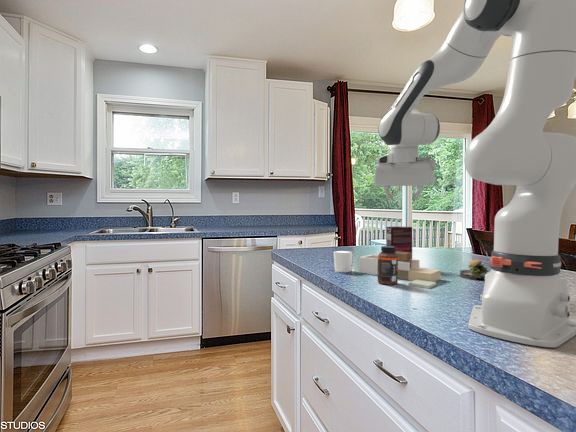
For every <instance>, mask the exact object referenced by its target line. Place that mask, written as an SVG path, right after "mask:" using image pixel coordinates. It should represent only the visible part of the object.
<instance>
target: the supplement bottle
mask: <svg viewBox="0 0 576 432" xmlns="http://www.w3.org/2000/svg"><path fill="white" fill-rule="evenodd" d="M380 251H381V252H379V253H378V254H377V255H378V275H377V283H379V284H380V285H387V286H389V285H390V286H391V285H392V286H394V285H397V284H398V280H399V279H398V255H397V254H396V253H395V247H394V246H386V245H382V246H381V248H380Z"/></svg>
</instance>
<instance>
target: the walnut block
mask: <svg viewBox="0 0 576 432" xmlns="http://www.w3.org/2000/svg"><path fill="white" fill-rule="evenodd" d="M395 253H396V254H397V255H398V261H399V262H407V263H410V268H411V258H412V259H413V252H412V253H410V252H400V251H396V252H395Z"/></svg>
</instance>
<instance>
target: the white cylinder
mask: <svg viewBox="0 0 576 432" xmlns="http://www.w3.org/2000/svg"><path fill="white" fill-rule="evenodd" d="M332 252H333V262H334V263H333V265H334V271H335V272H337V273H351V270H352V262H353V251H350V250H336V251H332Z"/></svg>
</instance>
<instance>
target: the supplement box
mask: <svg viewBox="0 0 576 432" xmlns="http://www.w3.org/2000/svg"><path fill="white" fill-rule="evenodd" d="M385 233H386V235H385V236H386V240H385V241H386V242H385V243H386V245H385V246H394V247H395V252H396V251H400V252H410V253H412V254H413V226H386V232H385ZM411 259H413V257H412V258H411Z"/></svg>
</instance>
